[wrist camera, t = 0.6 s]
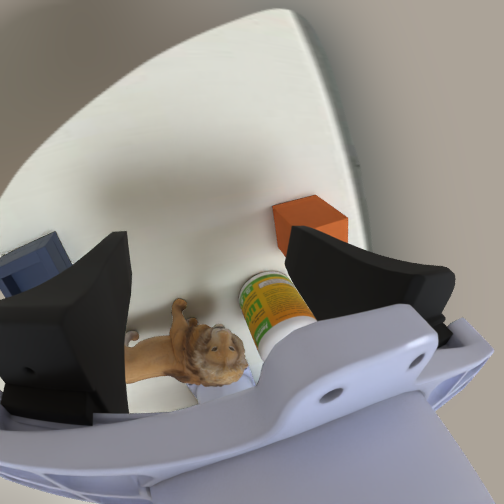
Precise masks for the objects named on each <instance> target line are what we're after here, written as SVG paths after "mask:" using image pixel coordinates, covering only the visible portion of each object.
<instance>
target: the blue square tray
mask: <svg viewBox="0 0 504 504" xmlns="http://www.w3.org/2000/svg"><path fill="white" fill-rule="evenodd" d="M70 266H72V264H71V262H70V260H69V258H68V256H67V254H66V252H65V250H64V248H63V246H62V244H61V242H60V240H59V238H58V236H57V234H56V232H53V233H50V234H48V235H46V236H44V237H42V238H39V239H37V240H35V241H33V242H31V243H29V244H26V245H24V246H22V247H20V248H18V249H16V250H14V251H12V252H10V253H8V254H6V255H4V256H2V257H1V258H0V290H1V291H2V293H3V295H4V296H5V298H8V297H11V296H14V295H17V294H19V293H22V292H24V291H27V290H29V289H31V288H34V287H36V286H38V285H40V284H42V283H44V282H46V281H47V280H49V279H51V278H53V277H55V276H56V275H58V274H60V273H61V272H63V271H64V270H66V269H67V268H69V267H70Z"/></svg>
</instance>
